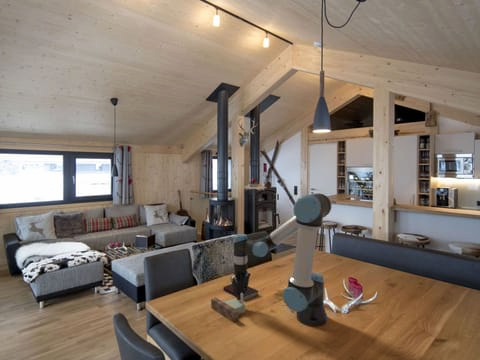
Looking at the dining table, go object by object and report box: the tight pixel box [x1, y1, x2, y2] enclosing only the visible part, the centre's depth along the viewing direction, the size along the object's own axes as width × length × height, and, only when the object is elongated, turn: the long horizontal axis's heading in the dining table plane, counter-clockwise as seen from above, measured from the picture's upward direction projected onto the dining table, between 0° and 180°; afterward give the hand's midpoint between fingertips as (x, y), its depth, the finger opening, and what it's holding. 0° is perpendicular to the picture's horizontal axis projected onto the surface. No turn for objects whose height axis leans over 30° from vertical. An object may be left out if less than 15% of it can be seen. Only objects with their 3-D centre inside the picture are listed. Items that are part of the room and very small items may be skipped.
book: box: [222, 282, 259, 302], centre depth 181 cm, size 12×19×3 cm, turn 39°
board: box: [210, 297, 240, 323], centre depth 154 cm, size 20×3×5 cm, turn 40°
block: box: [223, 298, 246, 315], centre depth 158 cm, size 10×8×4 cm
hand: (240, 305), depth 161 cm, fingers closed
